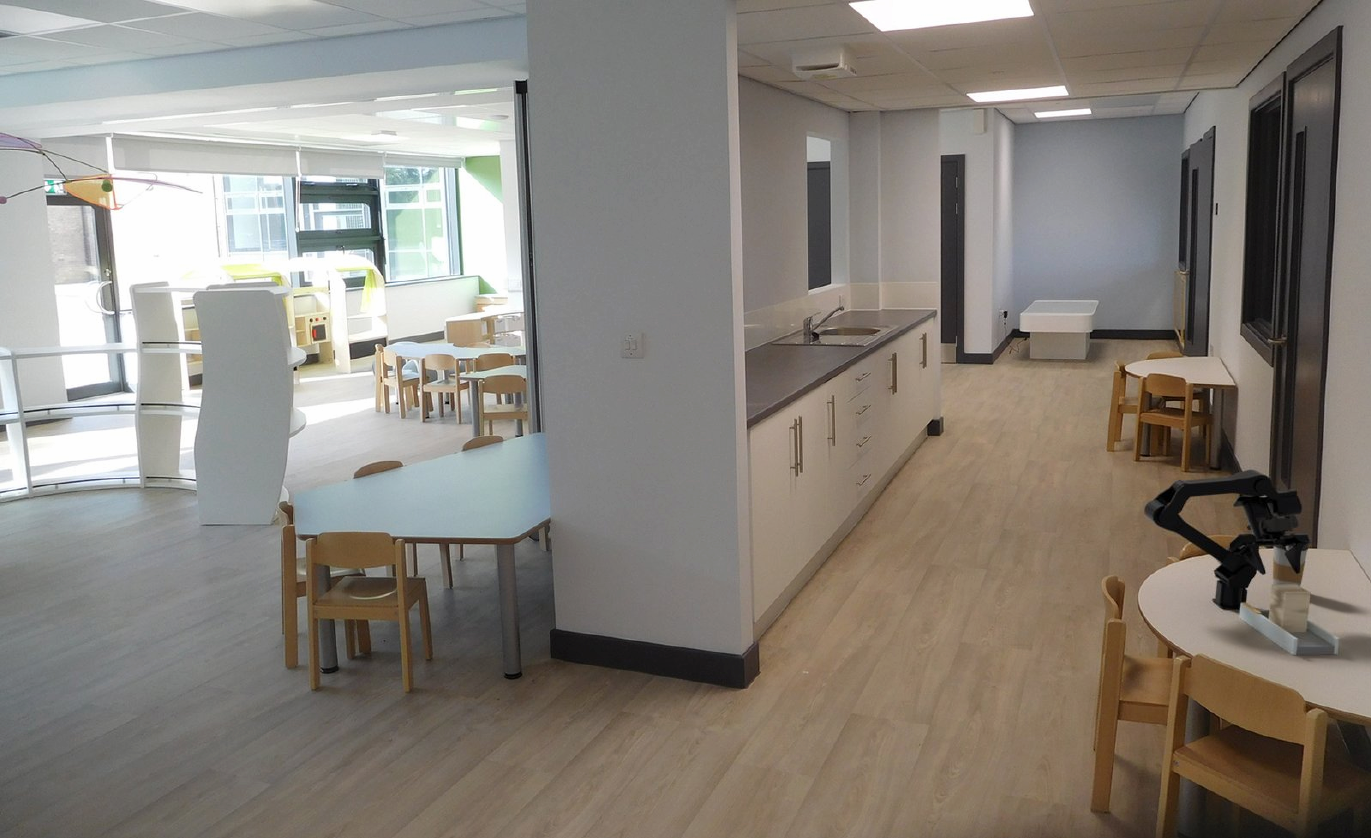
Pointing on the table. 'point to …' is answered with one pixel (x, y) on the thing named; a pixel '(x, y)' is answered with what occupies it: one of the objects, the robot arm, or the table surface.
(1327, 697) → the table surface
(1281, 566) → the coffee cup
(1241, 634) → the table surface
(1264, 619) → the channel
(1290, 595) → the beech block
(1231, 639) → the table surface
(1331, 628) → the table surface
